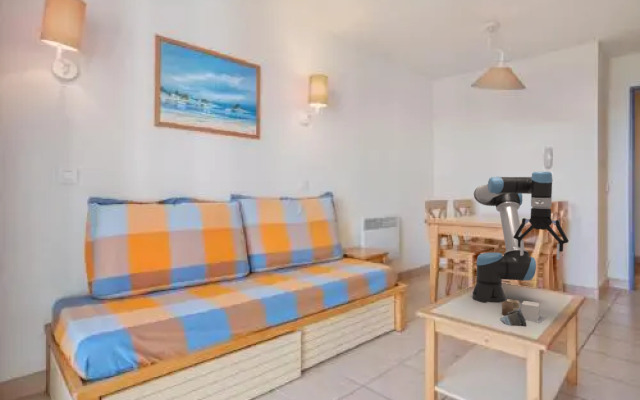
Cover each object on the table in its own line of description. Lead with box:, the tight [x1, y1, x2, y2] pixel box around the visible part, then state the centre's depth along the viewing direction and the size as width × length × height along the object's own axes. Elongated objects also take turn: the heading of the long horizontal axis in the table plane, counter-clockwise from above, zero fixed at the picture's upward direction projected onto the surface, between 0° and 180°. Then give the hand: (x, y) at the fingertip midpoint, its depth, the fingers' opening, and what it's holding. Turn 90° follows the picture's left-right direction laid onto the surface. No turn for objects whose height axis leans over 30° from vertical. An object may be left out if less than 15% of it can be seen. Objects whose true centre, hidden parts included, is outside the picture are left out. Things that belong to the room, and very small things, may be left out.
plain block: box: [521, 300, 541, 321], centre depth 159 cm, size 6×6×6 cm
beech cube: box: [506, 298, 520, 311], centre depth 168 cm, size 5×5×5 cm
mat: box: [521, 311, 547, 324], centre depth 159 cm, size 10×10×1 cm
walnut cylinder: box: [501, 300, 513, 317], centre depth 162 cm, size 4×4×6 cm
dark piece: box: [499, 308, 528, 327], centre depth 153 cm, size 10×7×12 cm
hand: (539, 257), depth 159 cm, fingers open, 13 cm apart
